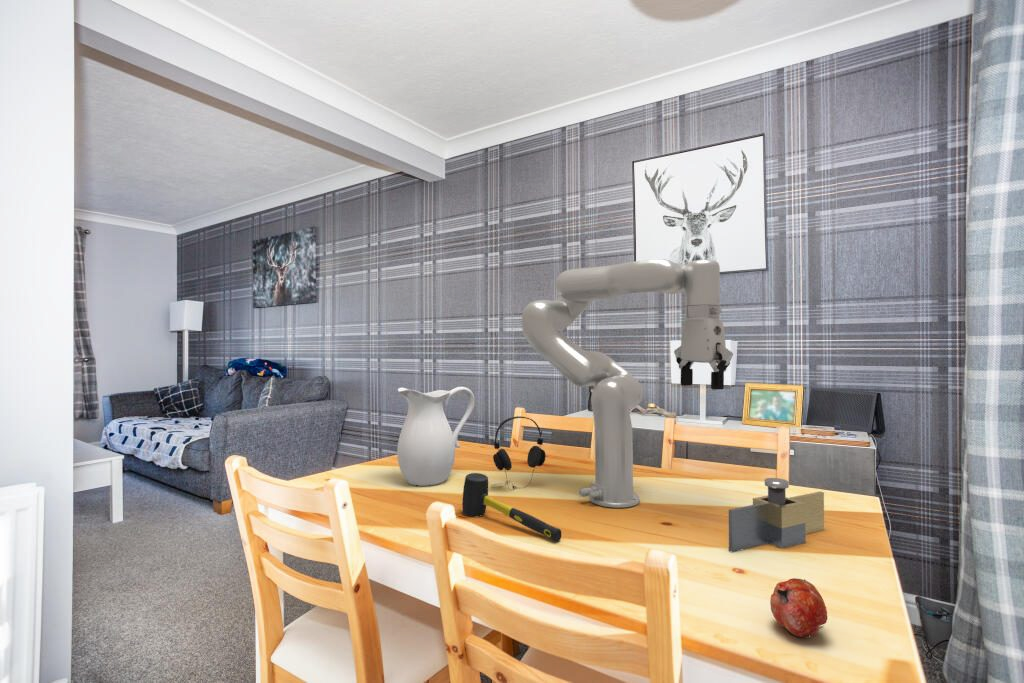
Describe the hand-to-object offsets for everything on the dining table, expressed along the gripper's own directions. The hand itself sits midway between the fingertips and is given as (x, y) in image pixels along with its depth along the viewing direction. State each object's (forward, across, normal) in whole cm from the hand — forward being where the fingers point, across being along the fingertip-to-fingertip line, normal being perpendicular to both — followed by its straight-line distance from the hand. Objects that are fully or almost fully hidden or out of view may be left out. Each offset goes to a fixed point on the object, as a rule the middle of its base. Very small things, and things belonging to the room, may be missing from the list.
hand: (701, 387), depth 121 cm
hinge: (+30, -18, -4) cm, 35 cm away
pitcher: (+32, +57, +47) cm, 81 cm away
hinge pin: (+30, -18, -4) cm, 35 cm away
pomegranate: (+30, -42, +22) cm, 56 cm away
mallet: (+31, +14, +43) cm, 55 cm away
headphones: (+31, +40, +29) cm, 59 cm away
